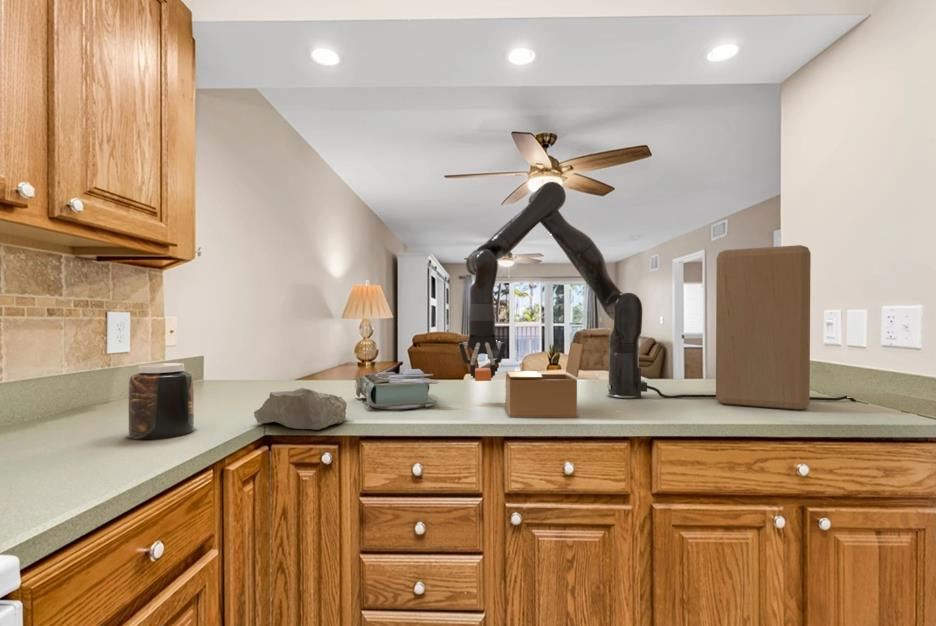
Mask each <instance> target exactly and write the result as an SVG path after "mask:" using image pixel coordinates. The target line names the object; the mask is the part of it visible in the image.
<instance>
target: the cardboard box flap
mask: <svg viewBox="0 0 936 626" xmlns="http://www.w3.org/2000/svg"><path fill="white" fill-rule="evenodd" d="M583 350H584V344H581V343H576V342H571V341H570V346H569V351H568V356H567V361H566V368H565V372H566V373H568V374H569V375H572V376H573V377H575V378H578V377H579V372H580V366H581V361H582V357H583Z"/></svg>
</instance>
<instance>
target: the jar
mask: <svg viewBox="0 0 936 626" xmlns="http://www.w3.org/2000/svg"><path fill="white" fill-rule="evenodd" d="M137 372H138V373H135V374H133V375H131V376H130V377H129V380H128V438H129V439H132V440H142V441H143V440H144V441H145V440H159V439H168V438H174V437H179V436H183V435H184V436H185V435H187V434H190V433H192V432H194V429H195V428H194V427H195V422H194V421H195V412H194V411H195V405H194V403H195V402H194V401H195V399H194V398H195V396H194V395H195V394H194V393H195V392H194V375H193V373H191V372H189V371H186V369H185V363H181V362H164V363H163V362H161V363H147V364H140V365H138V371H137Z"/></svg>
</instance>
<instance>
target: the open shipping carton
mask: <svg viewBox="0 0 936 626" xmlns="http://www.w3.org/2000/svg"><path fill="white" fill-rule="evenodd" d="M505 373H506V374H505V410H506V411H507V414H508V416H509V417H510V418H578V379H576V378H574V377H572V376H570V374H569V375H568V374H567V373H539V372H537V371H536V370H522V371H521V370H506V371H505Z"/></svg>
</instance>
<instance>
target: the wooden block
mask: <svg viewBox="0 0 936 626" xmlns="http://www.w3.org/2000/svg"><path fill="white" fill-rule="evenodd" d="M811 254H812V253H811V251H810V249H809V247H808V246H804V245H801V244H797V245H796V244H795V245H783V246H782V245H781V246H766V247H764V246H763V247H751V248H749V247H747V248H736V249H735V248H732V249H724V250H722V251H720V252H718V254H717V256H716V268H715V269H716V274H715V275H716V279H715V281H716V282H715V283H716V286H715V289H716V290H715V291H716V293H715V295H716V296H715V297H716V300H715V302H716V303H715V304H716V305H715V306H716V307H715V308H716V309H715V329H716V330H715V395H716V397H715V398H716V400H717V402H718V403H720V404H723V405H724V406H725V405H726V406H736V407H737V406H739V407H751V408H765V409H778V410H788V411H789V410H791V411H803V410H806V409H808V406H809V405H810V401H811V400H810V397H811V395H810V392H811V391H810V388H811V386H810V383H811V264H812V263H811V259H812V258H811V256H812V255H811Z"/></svg>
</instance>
